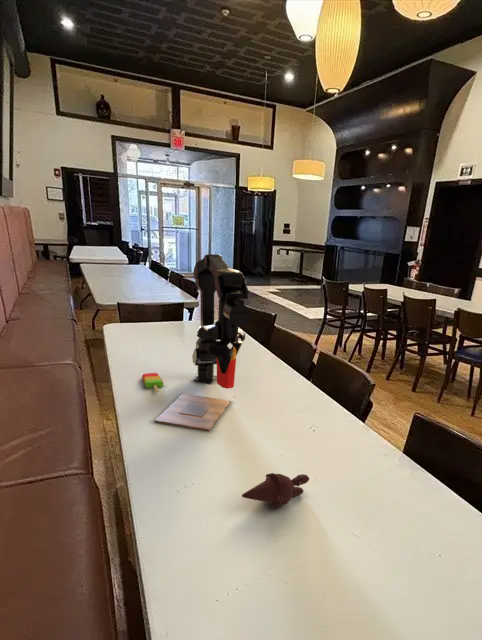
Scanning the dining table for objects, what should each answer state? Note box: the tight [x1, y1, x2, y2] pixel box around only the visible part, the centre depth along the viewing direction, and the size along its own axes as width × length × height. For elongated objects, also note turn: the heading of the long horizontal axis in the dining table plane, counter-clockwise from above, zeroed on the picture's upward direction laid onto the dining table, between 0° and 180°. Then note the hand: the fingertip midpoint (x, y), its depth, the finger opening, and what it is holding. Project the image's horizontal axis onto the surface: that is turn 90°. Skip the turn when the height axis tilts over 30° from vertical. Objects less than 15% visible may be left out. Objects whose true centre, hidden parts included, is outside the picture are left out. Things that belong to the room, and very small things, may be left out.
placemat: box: [154, 393, 231, 432], centre depth 123 cm, size 20×16×1 cm
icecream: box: [241, 472, 310, 509], centre depth 85 cm, size 7×7×15 cm
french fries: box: [216, 346, 237, 390], centre depth 121 cm, size 8×4×12 cm, turn 33°
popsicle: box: [141, 372, 164, 393], centre depth 138 cm, size 6×15×2 cm, turn 25°
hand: (226, 369), depth 121 cm, fingers closed on french fries, 6 cm apart
